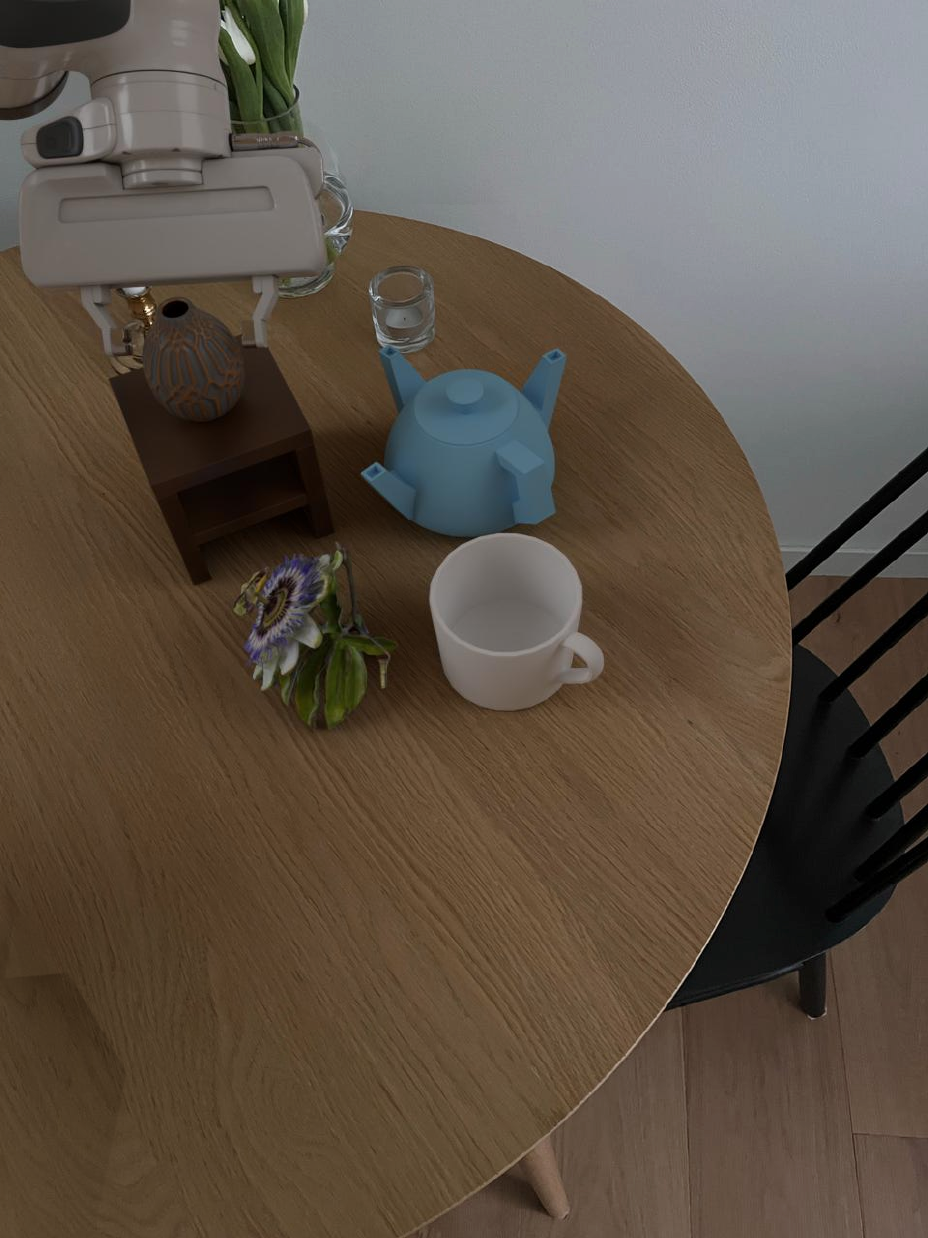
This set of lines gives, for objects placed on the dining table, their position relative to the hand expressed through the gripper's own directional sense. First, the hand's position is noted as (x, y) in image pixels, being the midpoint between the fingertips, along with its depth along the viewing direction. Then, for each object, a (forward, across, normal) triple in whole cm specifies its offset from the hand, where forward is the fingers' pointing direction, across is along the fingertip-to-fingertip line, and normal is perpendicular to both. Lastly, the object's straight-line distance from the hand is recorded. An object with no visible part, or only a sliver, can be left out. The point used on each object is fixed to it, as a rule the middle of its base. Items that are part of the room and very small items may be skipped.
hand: (187, 352), depth 73 cm
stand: (+12, 0, -13) cm, 17 cm away
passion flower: (+23, -7, -2) cm, 24 cm away
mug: (+24, -22, -1) cm, 33 cm away
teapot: (+11, -19, -14) cm, 26 cm away
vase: (+4, 0, -4) cm, 6 cm away
